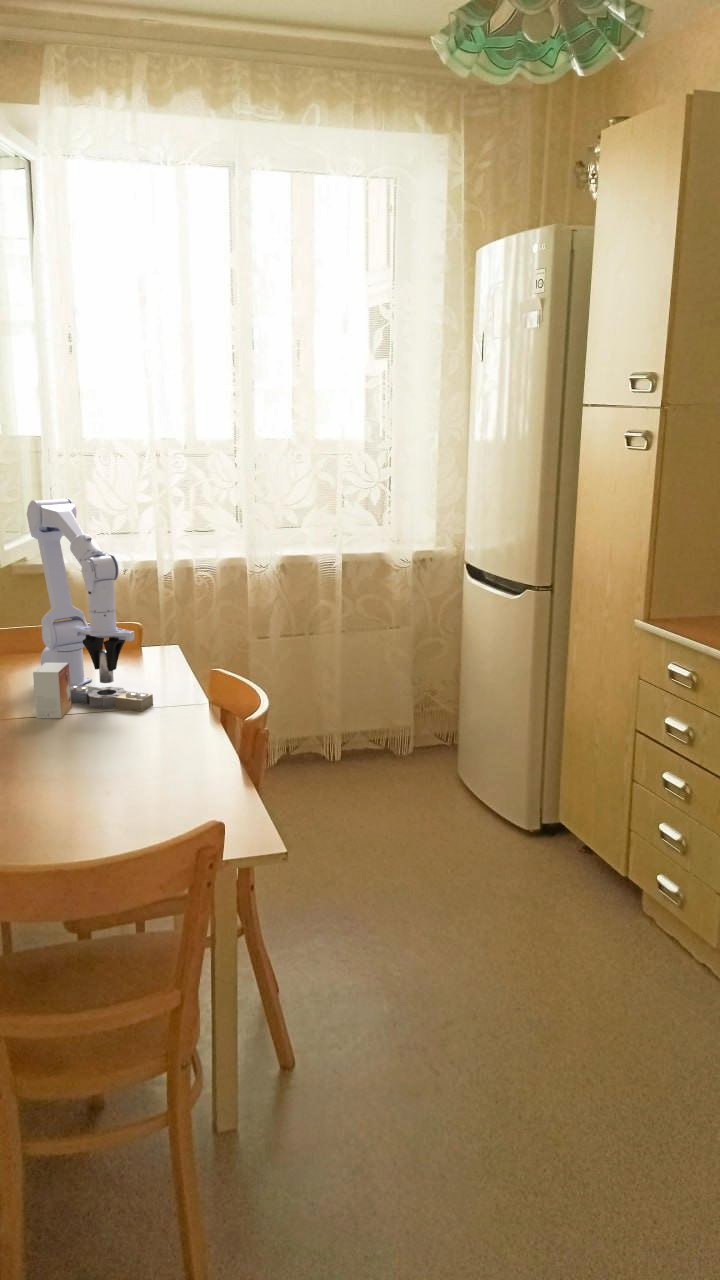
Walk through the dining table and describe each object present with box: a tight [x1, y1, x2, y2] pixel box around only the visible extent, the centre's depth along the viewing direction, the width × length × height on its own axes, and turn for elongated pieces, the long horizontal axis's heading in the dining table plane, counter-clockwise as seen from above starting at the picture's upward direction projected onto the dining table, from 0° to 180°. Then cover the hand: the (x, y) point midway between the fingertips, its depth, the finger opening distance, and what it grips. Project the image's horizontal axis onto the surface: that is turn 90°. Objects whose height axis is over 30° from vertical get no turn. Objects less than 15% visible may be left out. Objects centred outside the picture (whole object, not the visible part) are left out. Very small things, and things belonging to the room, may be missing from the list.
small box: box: [32, 663, 72, 719], centre depth 222 cm, size 8×6×10 cm
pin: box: [98, 649, 115, 684], centre depth 228 cm, size 3×3×7 cm
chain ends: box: [70, 685, 154, 713], centre depth 230 cm, size 21×8×3 cm, turn 71°
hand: (105, 669), depth 228 cm, fingers closed on pin, 3 cm apart
